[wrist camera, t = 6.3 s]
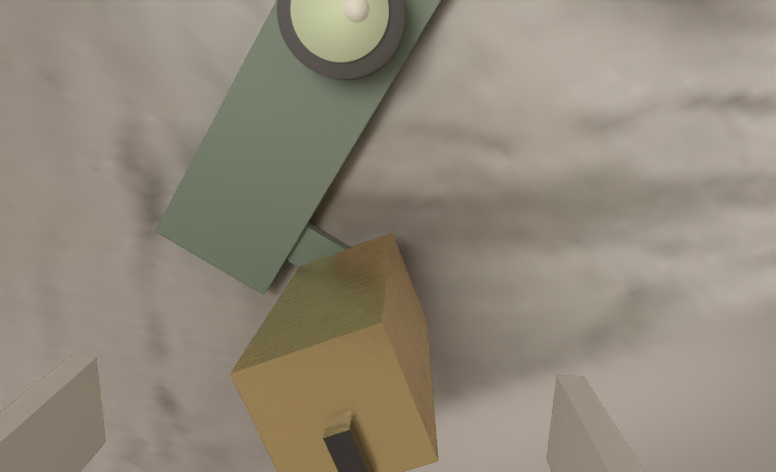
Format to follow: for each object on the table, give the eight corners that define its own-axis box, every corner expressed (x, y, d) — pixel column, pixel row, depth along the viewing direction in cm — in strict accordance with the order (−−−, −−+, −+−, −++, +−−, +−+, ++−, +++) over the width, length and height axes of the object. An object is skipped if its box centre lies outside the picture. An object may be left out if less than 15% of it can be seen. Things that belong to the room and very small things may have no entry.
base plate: (165, 225, 28) (121, 248, 23) (452, -316, 22) (463, -417, 18) (361, 340, 29) (353, 383, 25) (684, -146, 23) (747, -202, 19)
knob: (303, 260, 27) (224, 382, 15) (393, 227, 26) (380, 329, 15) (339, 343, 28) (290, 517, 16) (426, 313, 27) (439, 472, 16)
